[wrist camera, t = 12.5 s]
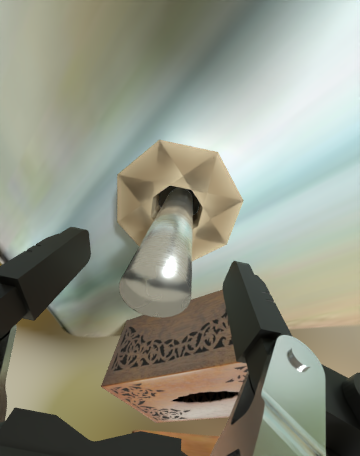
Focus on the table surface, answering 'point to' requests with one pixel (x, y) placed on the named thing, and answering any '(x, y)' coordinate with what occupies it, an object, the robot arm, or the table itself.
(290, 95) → the table surface
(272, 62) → the table surface
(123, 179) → the wooden bead
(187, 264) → the steel peg
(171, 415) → the tissue box cover
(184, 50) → the table surface
